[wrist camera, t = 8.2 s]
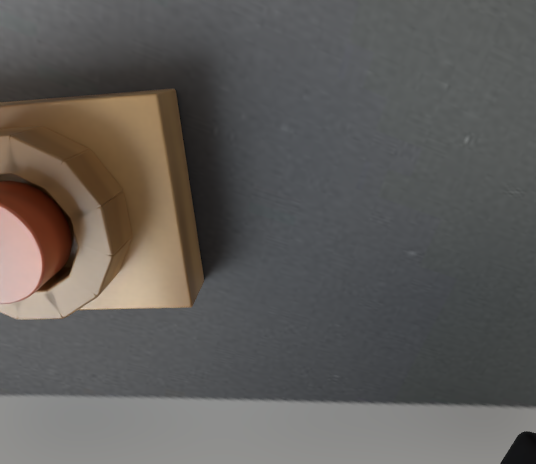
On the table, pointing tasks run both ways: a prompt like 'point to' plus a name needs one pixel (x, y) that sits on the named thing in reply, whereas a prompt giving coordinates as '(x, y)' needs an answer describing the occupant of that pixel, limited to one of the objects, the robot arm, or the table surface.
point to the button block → (108, 199)
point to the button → (29, 240)
